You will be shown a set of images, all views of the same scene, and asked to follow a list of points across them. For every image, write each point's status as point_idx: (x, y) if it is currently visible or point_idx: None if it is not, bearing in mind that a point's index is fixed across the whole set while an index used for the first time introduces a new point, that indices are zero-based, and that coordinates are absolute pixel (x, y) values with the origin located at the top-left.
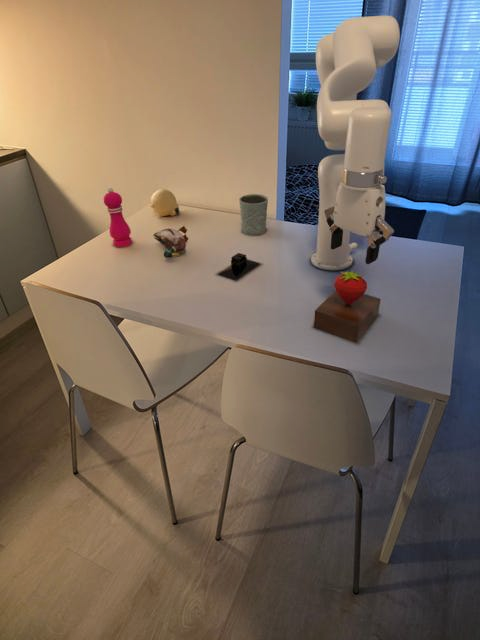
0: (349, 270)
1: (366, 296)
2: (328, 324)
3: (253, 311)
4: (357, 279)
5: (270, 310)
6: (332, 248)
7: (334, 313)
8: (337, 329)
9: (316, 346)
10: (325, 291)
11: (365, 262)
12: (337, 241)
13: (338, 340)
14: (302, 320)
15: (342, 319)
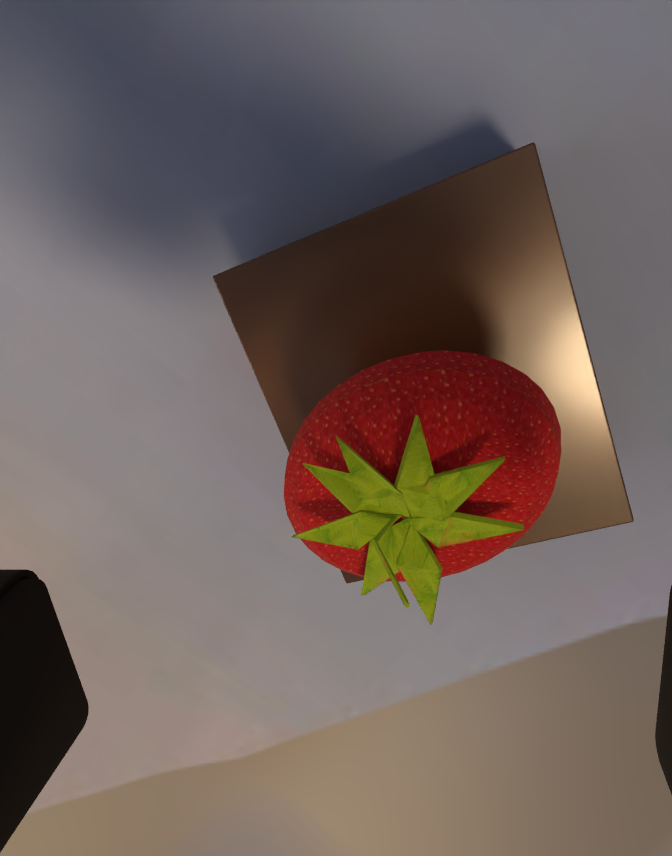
0: (380, 558)
1: (434, 214)
2: None
3: (110, 615)
4: (501, 531)
5: (138, 563)
6: (73, 728)
7: None
8: None
9: (483, 607)
10: (113, 220)
11: (658, 751)
12: (3, 741)
13: None
14: (284, 517)
15: (519, 544)
